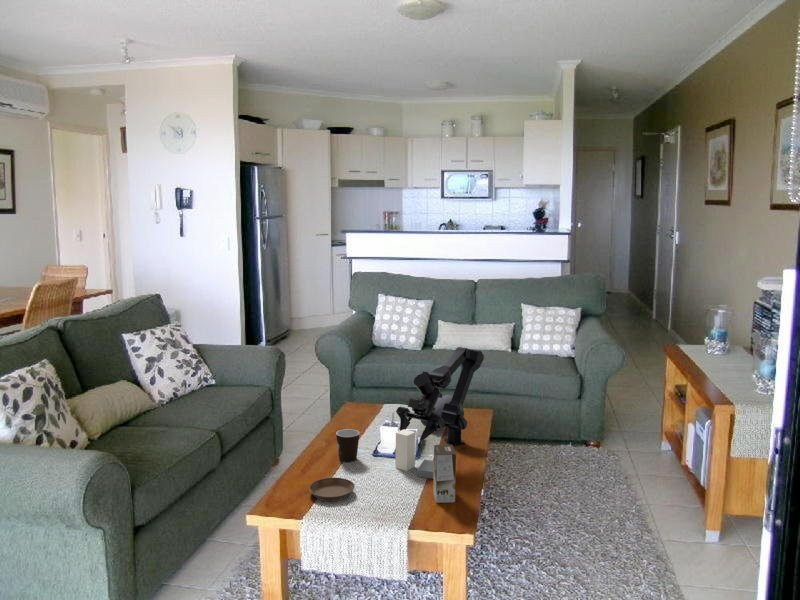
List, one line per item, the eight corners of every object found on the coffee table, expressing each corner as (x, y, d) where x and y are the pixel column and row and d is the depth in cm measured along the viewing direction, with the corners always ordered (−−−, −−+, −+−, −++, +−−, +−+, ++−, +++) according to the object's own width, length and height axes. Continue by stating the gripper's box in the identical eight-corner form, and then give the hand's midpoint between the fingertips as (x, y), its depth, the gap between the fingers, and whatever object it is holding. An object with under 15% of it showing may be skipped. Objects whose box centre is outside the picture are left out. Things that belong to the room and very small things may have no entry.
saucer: (313, 506, 214) (313, 498, 213) (305, 487, 228) (305, 480, 227) (359, 501, 218) (359, 493, 218) (349, 482, 232) (349, 475, 232)
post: (403, 463, 249) (404, 429, 247) (414, 466, 246) (415, 432, 244) (395, 467, 245) (395, 432, 243) (406, 471, 242) (407, 435, 240)
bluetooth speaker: (439, 432, 283) (439, 408, 282) (418, 428, 287) (418, 405, 285) (458, 416, 303) (458, 395, 302) (438, 413, 307) (439, 392, 306)
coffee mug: (356, 464, 248) (356, 437, 246) (333, 462, 249) (333, 436, 248) (364, 452, 259) (364, 427, 257) (342, 451, 261) (342, 425, 259)
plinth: (424, 466, 246) (424, 459, 246) (451, 469, 244) (451, 462, 243) (416, 476, 237) (417, 469, 237) (445, 480, 234) (445, 473, 234)
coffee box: (455, 502, 217) (456, 454, 215) (435, 503, 216) (436, 454, 214) (451, 490, 226) (452, 444, 224) (432, 491, 226) (433, 444, 223)
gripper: (399, 385, 254) (380, 421, 247) (441, 394, 243) (422, 431, 236) (411, 401, 261) (393, 436, 254) (452, 410, 250) (435, 447, 243)
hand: (410, 437), depth 246 cm, fingers open, 9 cm apart
